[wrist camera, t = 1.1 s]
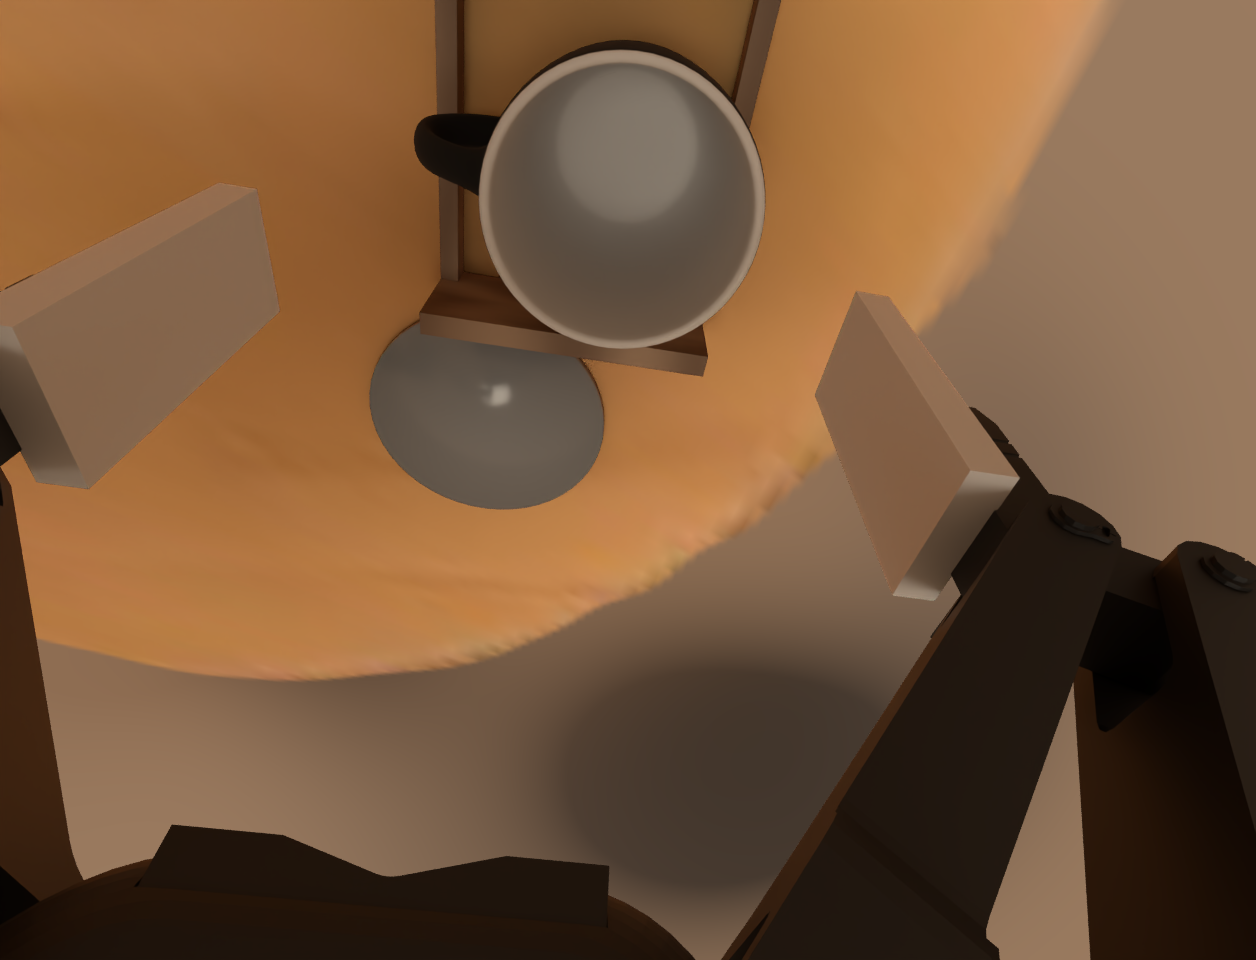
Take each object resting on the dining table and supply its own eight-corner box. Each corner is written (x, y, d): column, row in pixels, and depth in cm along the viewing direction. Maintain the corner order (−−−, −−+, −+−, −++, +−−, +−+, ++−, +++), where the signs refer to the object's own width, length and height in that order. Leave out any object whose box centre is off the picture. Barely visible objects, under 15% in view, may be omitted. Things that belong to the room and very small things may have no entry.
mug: (759, 51, 26) (812, 90, 18) (699, 268, 31) (719, 372, 23) (455, -25, 24) (366, -19, 16) (449, 216, 30) (379, 307, 22)
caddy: (447, 288, 32) (420, 334, 28) (440, -137, 22) (398, -158, 18) (695, 327, 33) (702, 376, 29) (790, -62, 23) (820, -67, 20)
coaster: (382, 488, 40) (379, 494, 40) (362, 289, 32) (358, 294, 32) (589, 515, 41) (588, 521, 41) (620, 330, 33) (619, 335, 33)
